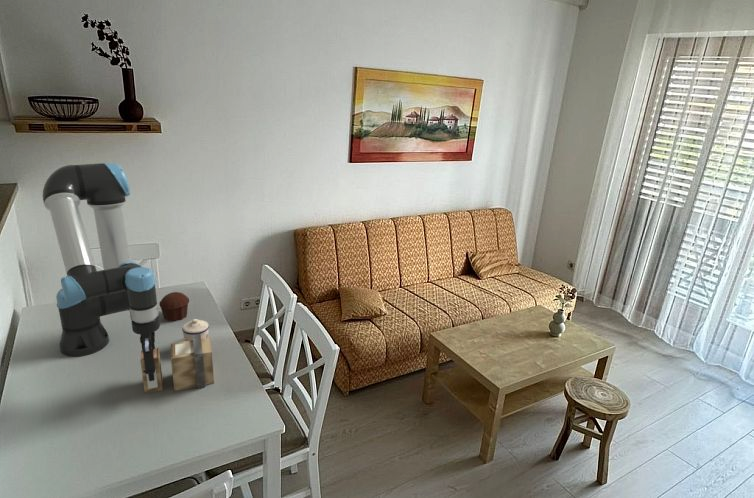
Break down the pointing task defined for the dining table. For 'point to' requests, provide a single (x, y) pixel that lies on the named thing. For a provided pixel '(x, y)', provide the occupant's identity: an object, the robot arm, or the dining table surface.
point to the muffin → (174, 306)
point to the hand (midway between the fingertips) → (153, 380)
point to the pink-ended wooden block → (158, 371)
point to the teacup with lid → (195, 329)
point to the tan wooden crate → (192, 363)
